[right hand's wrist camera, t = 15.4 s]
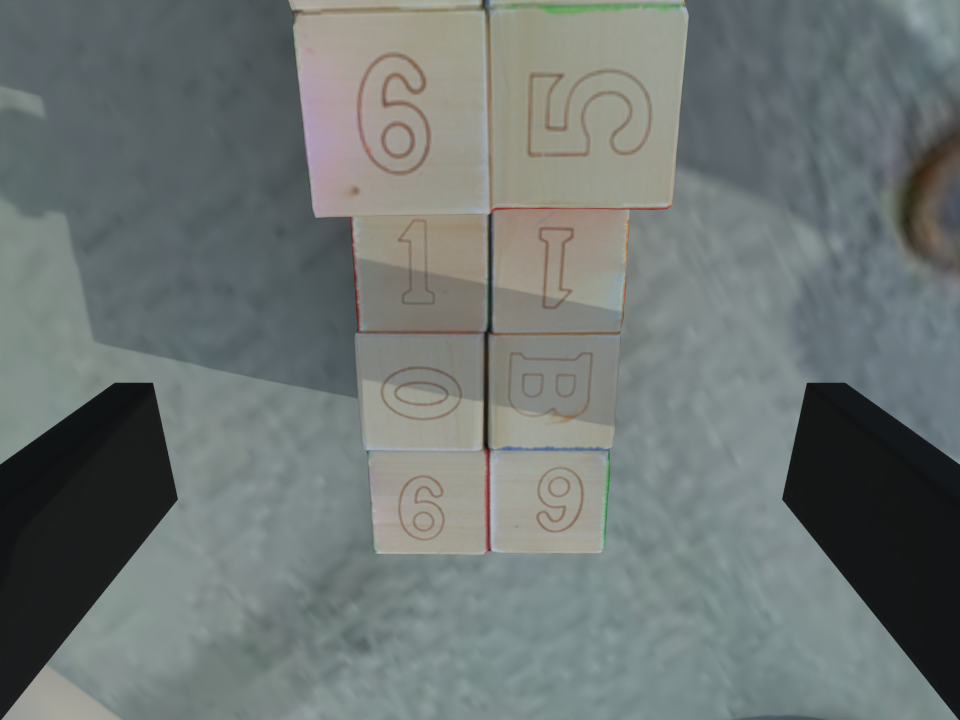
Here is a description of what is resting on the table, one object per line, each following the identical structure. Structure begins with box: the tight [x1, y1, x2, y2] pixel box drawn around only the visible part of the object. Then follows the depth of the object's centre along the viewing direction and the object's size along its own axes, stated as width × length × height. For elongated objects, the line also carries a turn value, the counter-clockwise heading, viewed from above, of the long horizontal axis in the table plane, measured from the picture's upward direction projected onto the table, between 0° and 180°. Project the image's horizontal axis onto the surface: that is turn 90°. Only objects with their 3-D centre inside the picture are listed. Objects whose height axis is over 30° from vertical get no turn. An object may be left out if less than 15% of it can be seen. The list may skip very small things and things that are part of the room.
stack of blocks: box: [288, 0, 689, 555], centre depth 15 cm, size 21×6×12 cm, turn 0°
